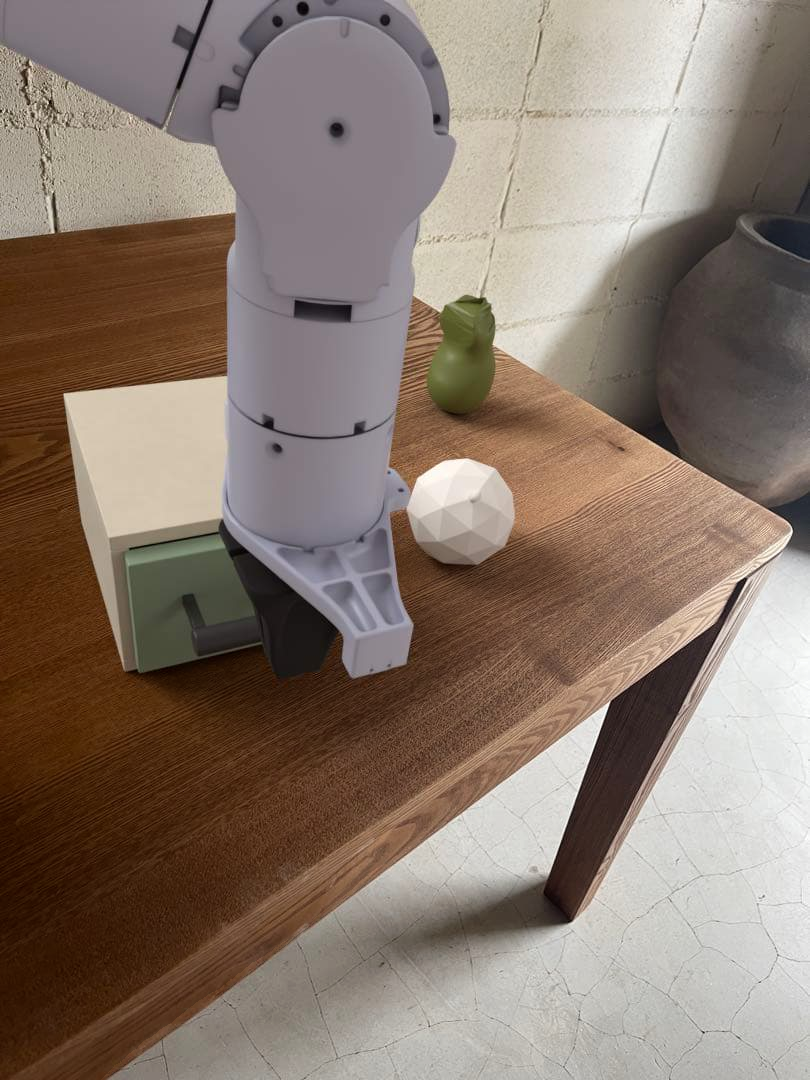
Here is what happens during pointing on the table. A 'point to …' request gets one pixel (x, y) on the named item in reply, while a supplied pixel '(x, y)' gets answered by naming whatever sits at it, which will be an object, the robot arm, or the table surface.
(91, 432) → the storage box
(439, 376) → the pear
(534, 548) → the table surface
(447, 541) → the ornament
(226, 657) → the table surface
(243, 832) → the table surface
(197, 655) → the drawer
